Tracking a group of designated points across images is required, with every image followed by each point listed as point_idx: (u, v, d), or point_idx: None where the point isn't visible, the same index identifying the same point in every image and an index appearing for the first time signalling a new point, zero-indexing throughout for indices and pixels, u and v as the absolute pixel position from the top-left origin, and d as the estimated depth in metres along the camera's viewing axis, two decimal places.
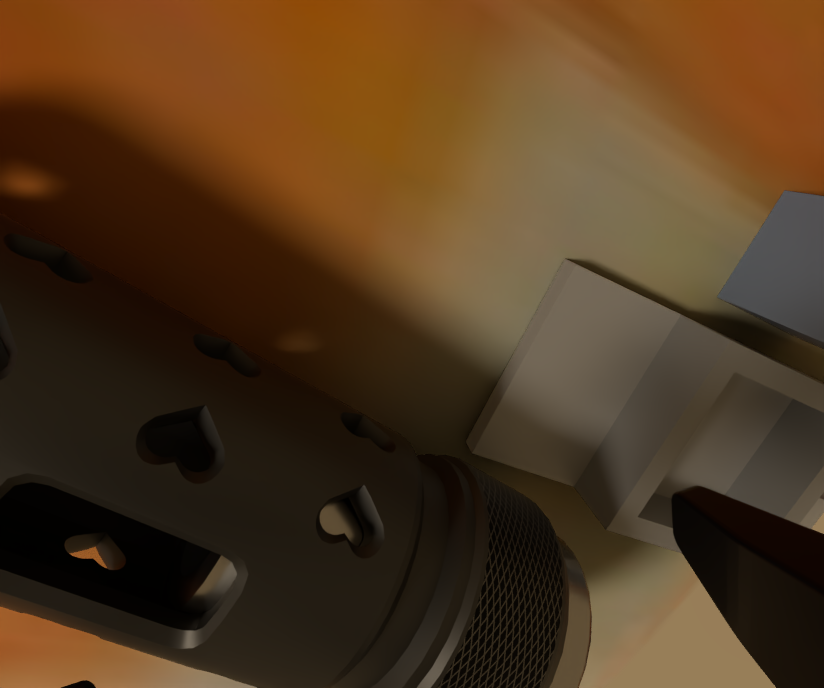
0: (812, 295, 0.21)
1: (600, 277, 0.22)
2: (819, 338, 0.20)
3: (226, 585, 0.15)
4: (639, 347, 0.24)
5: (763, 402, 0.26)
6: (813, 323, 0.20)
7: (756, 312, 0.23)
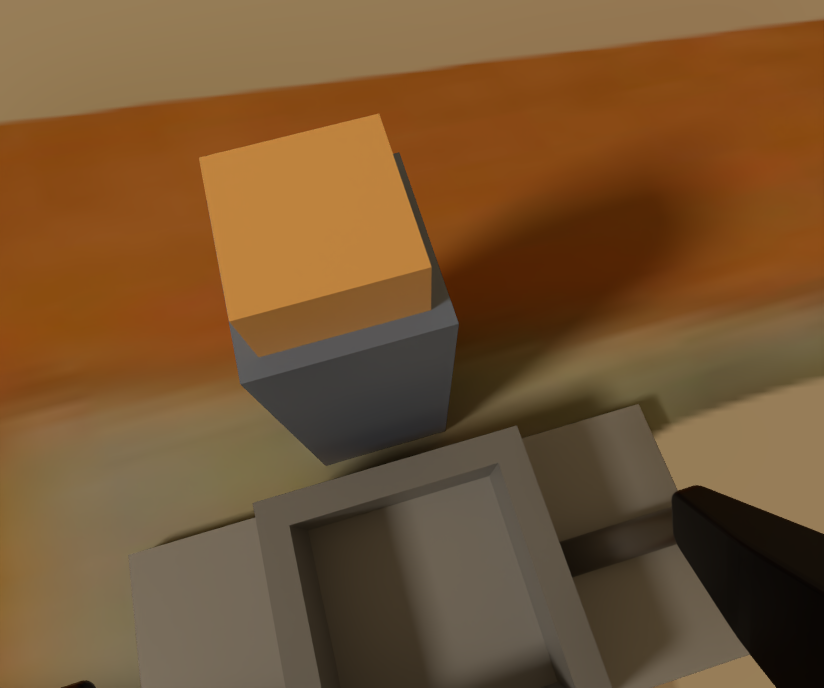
0: None
1: (162, 546, 0.21)
2: None
3: None
4: (261, 573, 0.20)
5: (461, 512, 0.21)
6: None
7: (314, 454, 0.20)
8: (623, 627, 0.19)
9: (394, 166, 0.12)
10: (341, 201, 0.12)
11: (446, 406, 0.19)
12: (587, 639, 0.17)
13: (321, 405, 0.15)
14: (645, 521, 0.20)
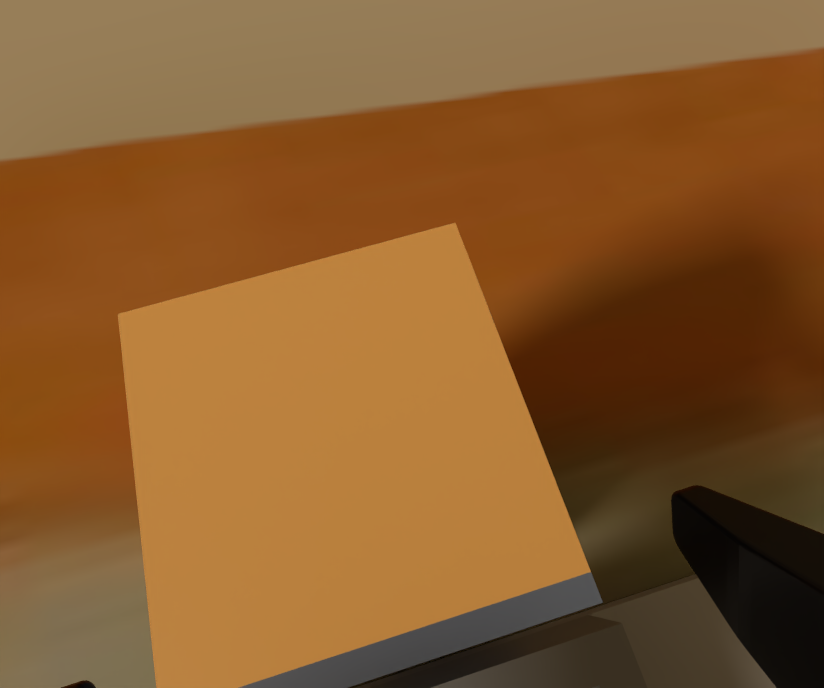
0: None
1: None
2: None
3: None
4: None
5: None
6: None
7: None
8: None
9: (492, 331, 0.06)
10: (393, 411, 0.06)
11: None
12: None
13: None
14: None
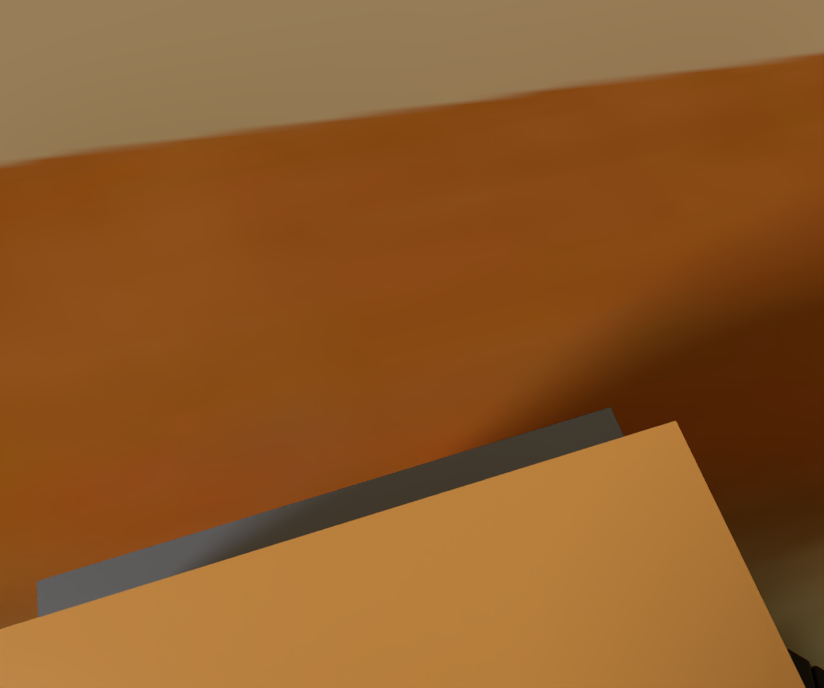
0: None
1: None
2: None
3: None
4: None
5: None
6: None
7: None
8: None
9: None
10: None
11: None
12: None
13: None
14: None
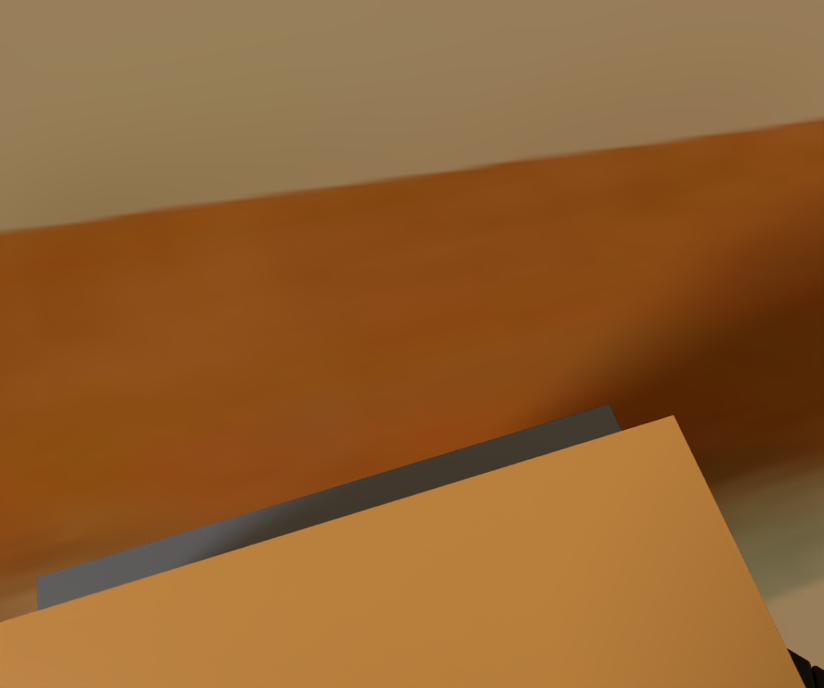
0: None
1: None
2: None
3: None
4: None
5: None
6: None
7: None
8: None
9: None
10: None
11: None
12: None
13: None
14: None
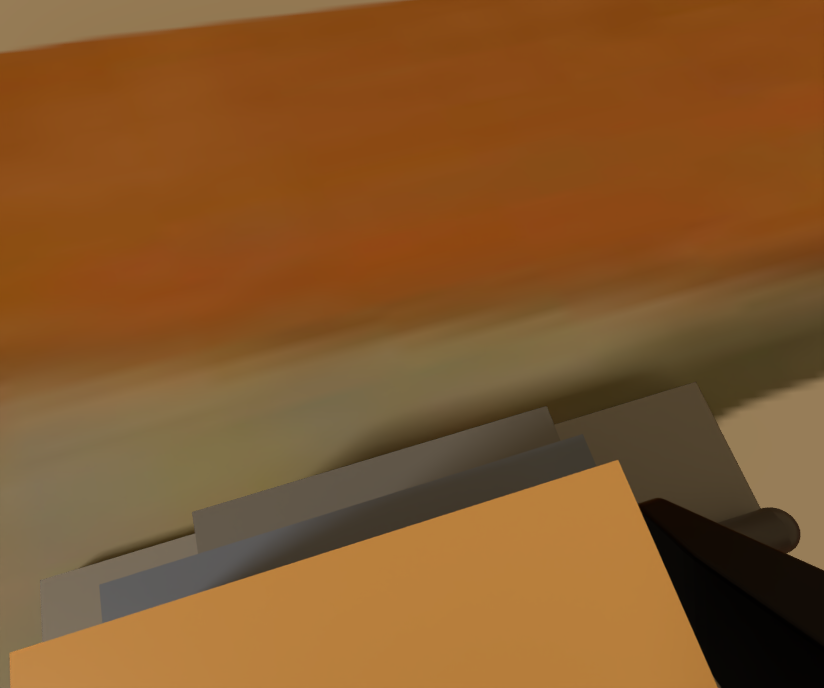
0: None
1: (84, 568, 0.16)
2: None
3: None
4: None
5: None
6: None
7: None
8: None
9: None
10: None
11: None
12: None
13: None
14: None
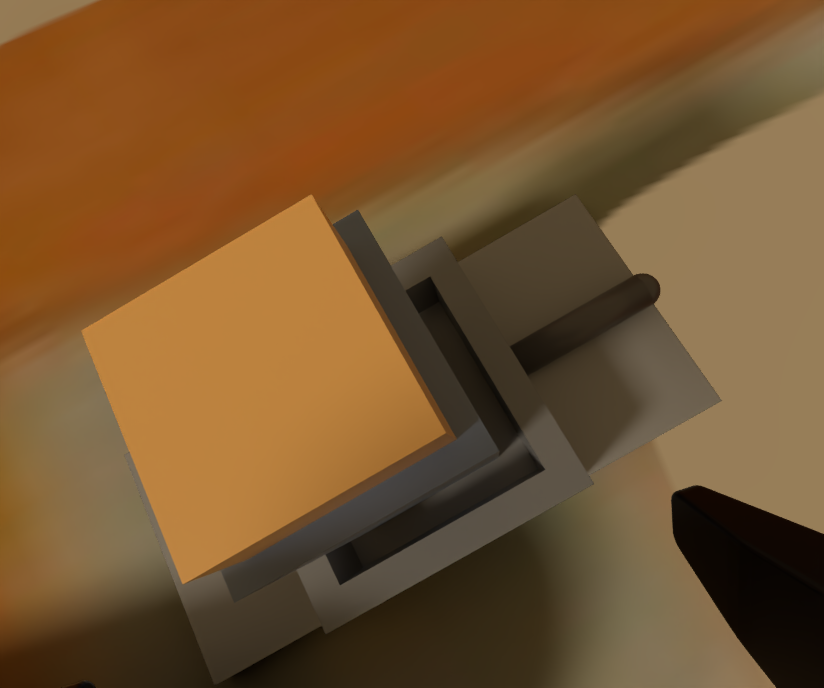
0: None
1: None
2: None
3: None
4: None
5: None
6: None
7: None
8: (592, 407, 0.20)
9: (354, 276, 0.08)
10: (292, 354, 0.08)
11: (496, 457, 0.16)
12: (543, 414, 0.17)
13: None
14: (594, 301, 0.19)
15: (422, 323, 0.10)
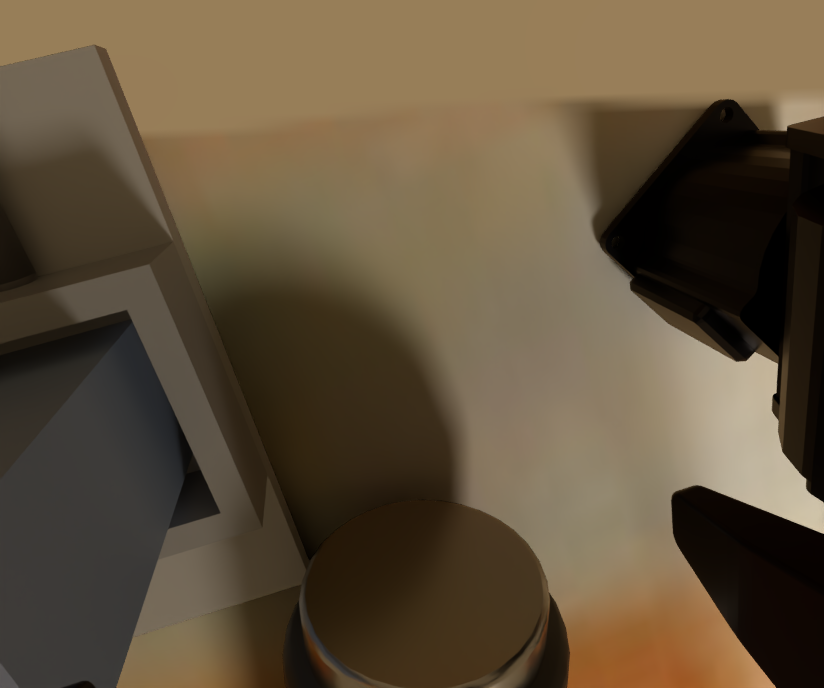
0: None
1: None
2: (158, 551, 0.15)
3: None
4: None
5: None
6: None
7: (181, 484, 0.18)
8: (86, 201, 0.17)
9: None
10: None
11: (96, 368, 0.14)
12: (58, 296, 0.15)
13: (110, 590, 0.12)
14: None
15: None
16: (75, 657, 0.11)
